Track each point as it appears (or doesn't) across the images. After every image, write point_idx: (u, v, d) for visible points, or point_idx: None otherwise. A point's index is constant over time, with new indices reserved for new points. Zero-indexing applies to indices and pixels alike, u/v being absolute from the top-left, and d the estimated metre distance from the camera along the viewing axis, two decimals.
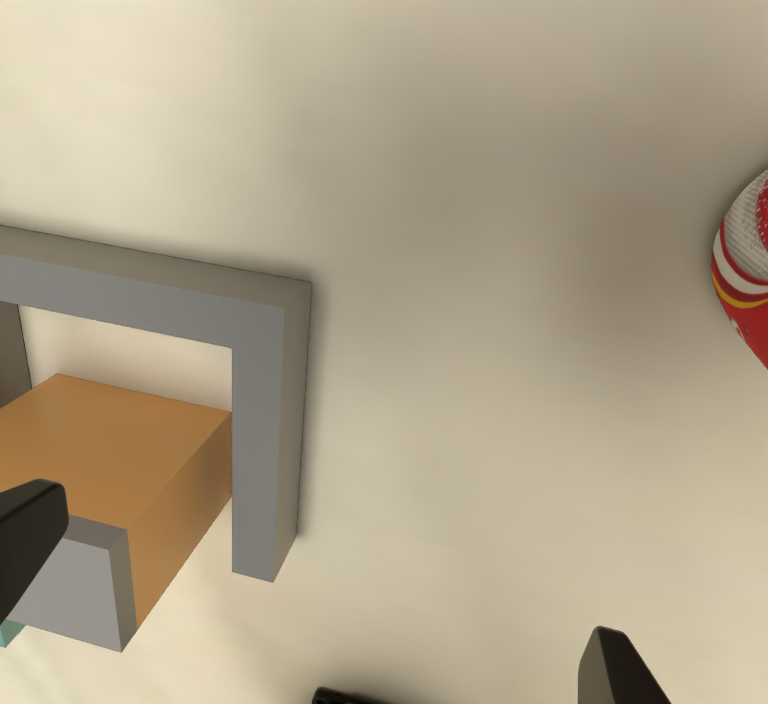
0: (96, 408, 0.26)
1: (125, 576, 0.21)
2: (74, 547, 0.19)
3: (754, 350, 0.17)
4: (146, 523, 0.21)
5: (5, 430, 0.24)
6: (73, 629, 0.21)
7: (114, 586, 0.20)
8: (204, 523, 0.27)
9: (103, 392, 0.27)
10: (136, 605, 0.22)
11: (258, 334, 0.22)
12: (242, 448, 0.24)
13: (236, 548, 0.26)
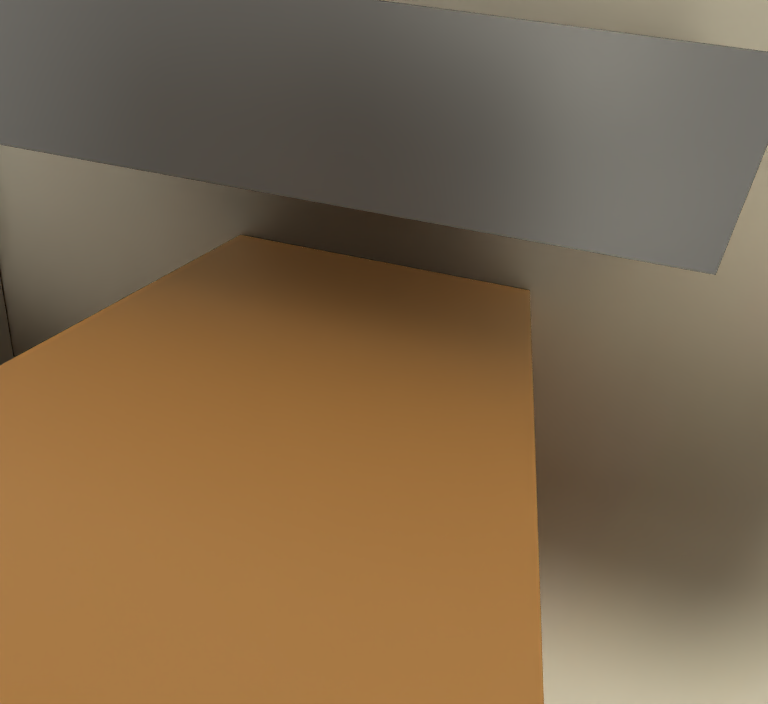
0: None
1: None
2: None
3: None
4: None
5: None
6: None
7: None
8: (478, 350, 0.07)
9: None
10: None
11: None
12: (85, 122, 0.07)
13: (571, 227, 0.06)
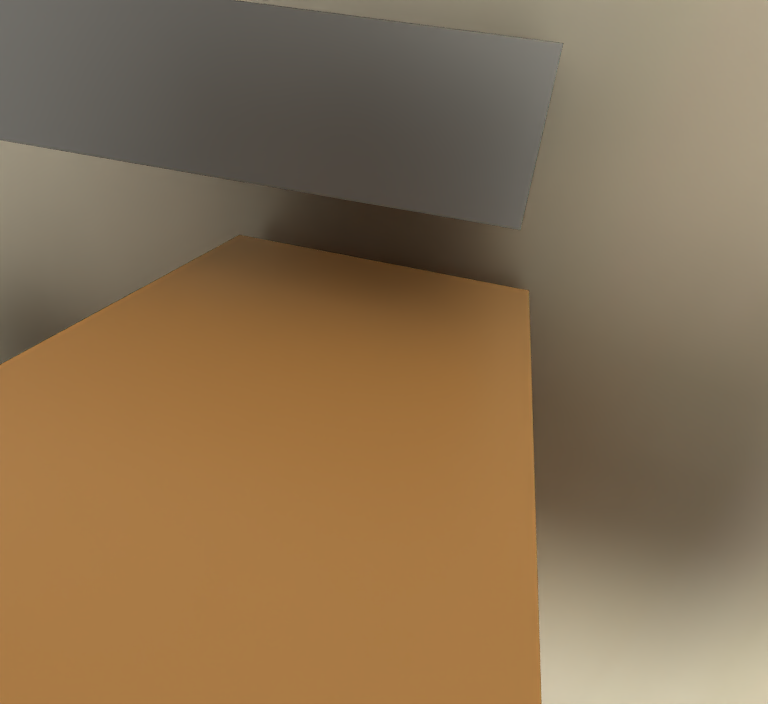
0: None
1: None
2: None
3: None
4: None
5: None
6: None
7: None
8: (477, 350, 0.07)
9: None
10: None
11: None
12: None
13: (401, 191, 0.07)
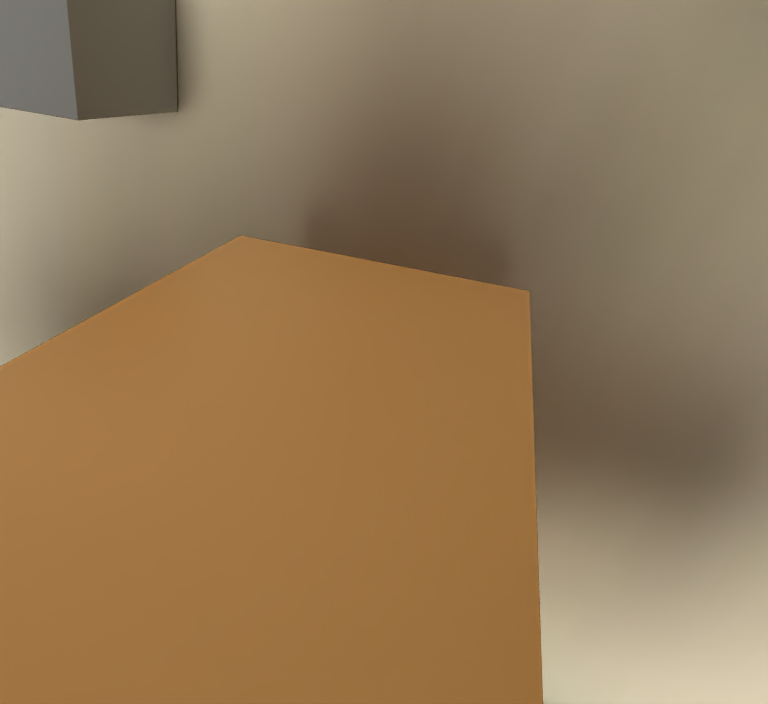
0: None
1: None
2: None
3: None
4: None
5: None
6: None
7: None
8: (479, 351, 0.07)
9: None
10: None
11: None
12: None
13: None
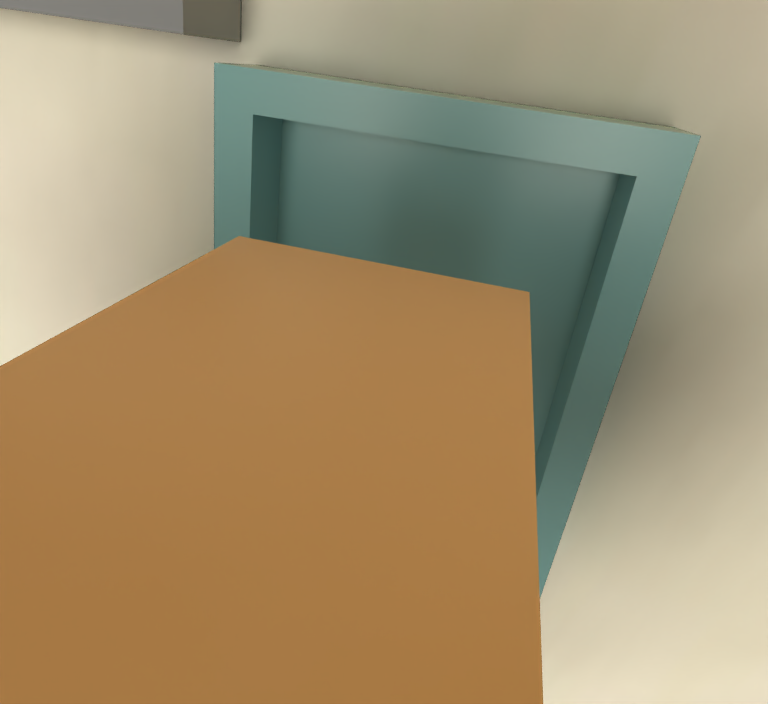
0: None
1: None
2: None
3: None
4: None
5: None
6: None
7: None
8: (478, 352, 0.07)
9: None
10: None
11: None
12: None
13: None
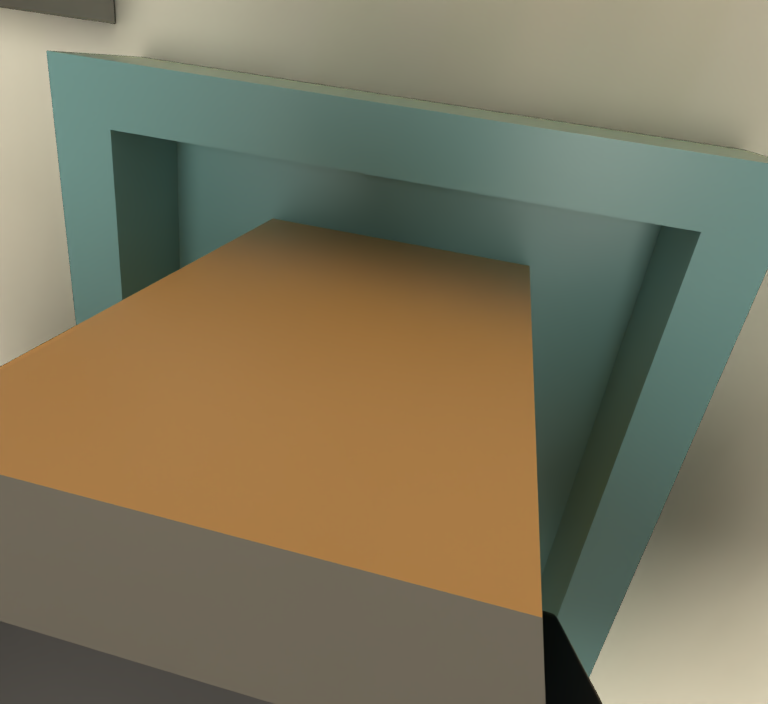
0: None
1: (57, 529, 0.04)
2: None
3: None
4: (53, 391, 0.05)
5: None
6: None
7: None
8: (486, 309, 0.08)
9: None
10: (359, 559, 0.04)
11: None
12: None
13: None
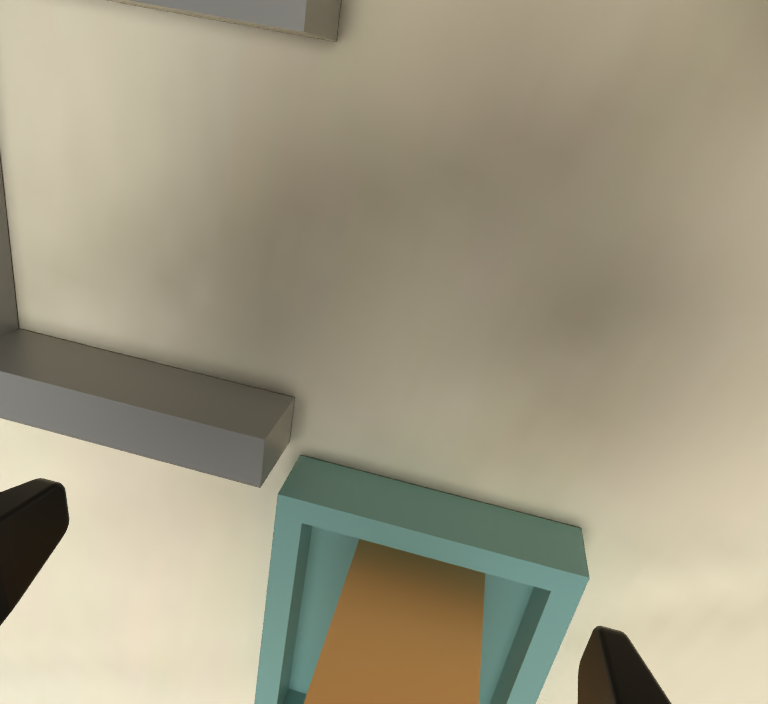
0: None
1: None
2: None
3: None
4: (331, 696, 0.17)
5: None
6: None
7: None
8: (464, 616, 0.20)
9: None
10: None
11: None
12: None
13: (246, 11, 0.14)
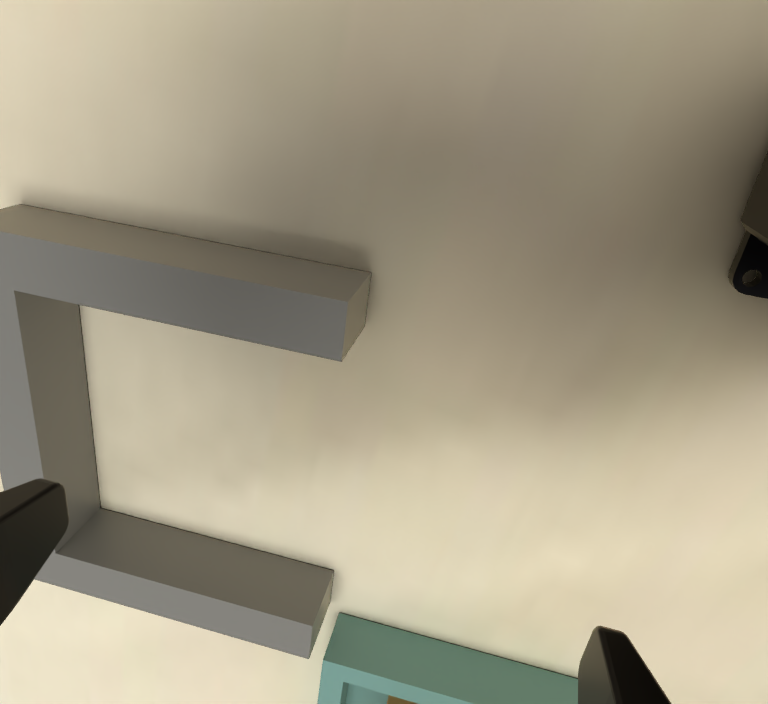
0: None
1: None
2: None
3: None
4: None
5: None
6: None
7: None
8: None
9: None
10: None
11: None
12: (133, 304, 0.19)
13: (296, 345, 0.18)
